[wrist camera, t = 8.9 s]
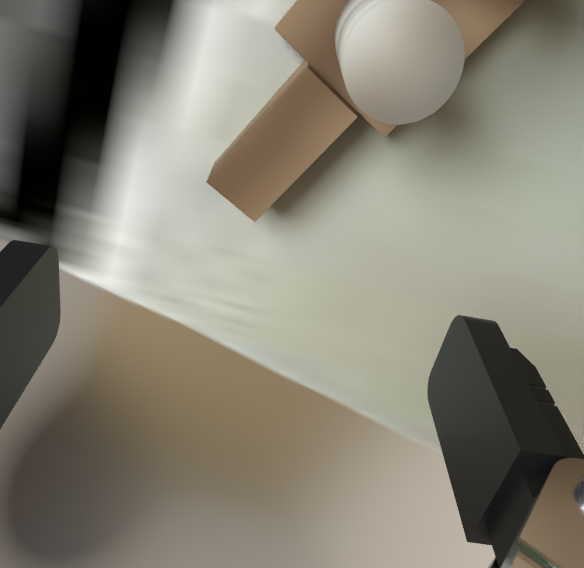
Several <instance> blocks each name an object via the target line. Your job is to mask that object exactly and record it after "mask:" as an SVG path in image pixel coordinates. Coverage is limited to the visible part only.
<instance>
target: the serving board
mask: <svg viewBox="0 0 584 568" xmlns="http://www.w3.org/2000/svg"><path fill="white" fill-rule="evenodd" d="M524 1H525V0H297V1H296V2H295V3H294V5H293V6H292V7H291V8H290V9H289V11H288V12H287V13H286V14H285V16H284V17H283V18H282V19H281V20H280V22H279V23H278V24H277V25H276V28H275V30H276V31H277V32H278V33H279V34H280V35H281V36H282V37H283V38H284V39H285V40H286V41H287V42H288V43H289V44H290V45H291V46H292V47H293V48H294V49H295V50H296V51H297V52H298V53H299V54H300V55H301V56H302V57H303V58H304V59H305V61H304V62H303V63H302V64H301V65H300V66H299V68H298V69H297V70H296V71H295V72H294V73H293V74H292V75H291V77H290V78H289V79H288V80H287V81H286V82H285V83H284V85H283V86H282V87H281V88H280V89H279V90H278V91H277V92H276V94H275V95H274V96H273V97H272V98H271V99H270V100H269V102H268V103H267V104H266V105H265V106H264V107H263V108H262V110H261V111H260V112H259V113H258V114H257V115H256V116H255V117H254V119H253V120H252V121H251V122H250V123H249V124H248V125H247V127H246V128H245V129H244V130H243V131H242V132H241V133H240V135H239V136H238V137H237V138H236V139H235V140H234V141H233V142H232V144H231V145H230V146H229V147H228V148H227V149H226V150H225V152H224V153H223V154H222V155H221V156H220V157H219V158H218V160H217V161H216V162H215V163H214V166H213V168H212V170H211V173H210V175H209V177H208V180H207V183H208V184H209V185H211V186H212V187H213V188H214V189H215V190H217V191H218V192H219V193H220V194H221V195H223V196H224V197H225V198H226V199H228V200H229V201H230V202H231V203H232V204H234V205H235V206H236V207H237V208H238V209H240V210H241V211H242V212H243V213H245V214H246V215H247V216H248V217H249V218H251V219H252V220H253V221H254V222H255V221H256V220H257V219H258V218H259V217H260V216H261V215H262V214H263V213H264V212H265V211H266V210H267V209H268V208H269V207H270V206H271V205H272V204H273V203H274V202H275V201H276V200H277V199H278V198H279V197H280V196H281V195H282V194H283V193H284V192H285V191H286V190H287V189H288V188H289V187H290V186H291V185H292V184H293V183H294V182H295V181H296V180H297V179H298V178H299V176H300V175H301V174H302V173H303V172H304V171H305V170H306V169H307V168H308V167H309V166H310V165H311V164H312V163H313V162H314V161H315V160H316V159H317V158H318V157H319V156H320V155H321V154H322V153H323V152H324V151H325V150H326V149H327V148H328V147H329V146H330V145H331V144H332V143H333V142H334V141H335V140H336V139H337V138H338V137H339V136H340V135H341V134H342V133H343V132H344V131H345V129H346V128H347V127H348V126H349V125H350V124H351V123H352V122H353V121H354V120H355V119H356V118H357V113H356V110H357V111H358V112H359V113H360V114H361V115H362V116H363V117H364V118H365V119H366V120H367V121H368V122H369V123H370V124H371V125H372V126H373V127H374V128H375V129H376V130H377V131H378V132H379V133H380V134H381V135H382V136H383V137H384V138H385V137H386V136H387V135H388V134H389V133H390V132H391V131H392V130H393V129H394V128H395V127H396V126H397V125H402V124H409V123H414V122H417V121H419V120H422V119H424V118H426V117H428V116H430V115H431V114H433V113H434V112H436V111H437V110H438V109H439V108H441V107H442V106H443V105H444V104H445V103H446V101H447V100H448V99H449V98H450V96H451V95H452V94H453V92H454V90H455V89H456V87H457V85H458V83H459V80H460V78H461V75H462V71H463V66H464V60H465V59H466V58H467V57H468V56H469V55H470V54H471V53H472V52H473V51H474V50H475V49H476V48H477V47H478V46H479V45H480V44H481V43H482V42H483V41H484V40H485V39H486V38H487V37H488V36H489V35H490V34H491V33H492V32H493V31H494V30H495V29H496V28H497V27H499V26H500V25H501V24H502V23H503V22H504V21H505V20H506V19H507V18H508V17H509V16H510V15H511V14H512V13H513V12H514V11H515V10H516V9H517V8H518V7H519V6H520V5H521V4H522V3H523V2H524Z"/></svg>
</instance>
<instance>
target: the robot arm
mask: <svg viewBox="0 0 584 568" xmlns="http://www.w3.org/2000/svg"><path fill="white" fill-rule="evenodd" d="M59 287H60V286H59V260H58V253H57V250H56V248H55V247H53V246H47V245H41V244H35V243H29V242H23V241H17V240H13V241H11V242H10V243H8V244H7V246H6V247H5V248H4V249H3V250H2V251H1V252H0V429H1V427H2V425H3V424H4V422H5V421H6V419H7V417H8V416H9V414H10V412H11V411H12V409H13V408H14V406H15V404H16V402H17V401H18V399H19V398H20V396H21V395H22V393H23V391H24V390H25V388H26V386H27V385H28V383H29V381H30V380H31V378H32V376H33V375H34V373H35V372H36V370H37V368H38V367H39V365H40V364H41V362H42V360H43V359H44V357H45V355H46V354H47V352H48V351H49V349H50V347H51V346H52V344H53V342H54V340H55V338H56V335H57V331H58V327H59V323H60V288H59ZM428 401H429V405H430V409H431V413H432V416H433V420H434V423H435V427H436V431H437V434H438V438H439V441H440V445H441V449H442V452H443V456H444V460H445V463H446V467H447V470H448V474H449V478H450V481H451V485H452V488H453V492H454V496H455V499H456V502H457V506H458V510H459V513H460V517H461V521H462V525H463V528H464V532H465V535H466V539H467V542H473V543H480V544H487V545H492V547H493V550H494V553H495V556H496V557H495V558H494V560H493V561H492V563H491V565H490V566H489V568H584V455H583V453H582V451H581V449H580V447H579V445H578V444H577V442H576V440H575V438H574V436H573V435H572V433H571V431H570V429H569V427H568V425H567V424H566V422H565V420H564V418H563V416H562V415H561V413H560V411H559V409H558V407H557V406H554V403H555V402H554V400H553V398H552V396H551V394H550V393H549V391H548V390H546V385H545V384H544V382H543V380H542V378H541V376H540V374H539V373H538V371H537V369H536V367H535V366H534V365H533V364H532V363H531V362H530V361H529V360H528V359H527V358H525V357H524V356H523V355H522V354H521V353H520V352H519V351H518V350H517V349H514V348H510V347H509V345H508V343H507V341H506V339H505V337H504V335H503V333H502V331H501V330H500V328H499V326H498V324H497V323H496V322H495V321H491V320H485V319H479V318H473V317H467V316H461V315H458V316H456V317H455V318H454V319H453V321H452V323H451V325H450V327H449V329H448V332H447V334H446V337H445V339H444V341H443V344H442V346H441V349H440V351H439V354H438V356H437V358H436V361H435V363H434V366H433V368H432V370H431V373H430V377H429V382H428Z"/></svg>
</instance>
